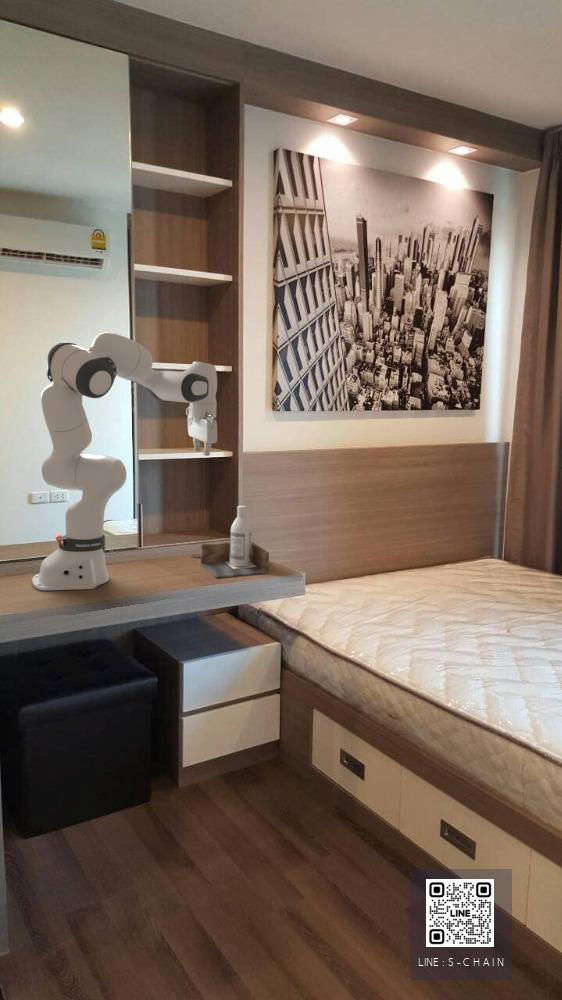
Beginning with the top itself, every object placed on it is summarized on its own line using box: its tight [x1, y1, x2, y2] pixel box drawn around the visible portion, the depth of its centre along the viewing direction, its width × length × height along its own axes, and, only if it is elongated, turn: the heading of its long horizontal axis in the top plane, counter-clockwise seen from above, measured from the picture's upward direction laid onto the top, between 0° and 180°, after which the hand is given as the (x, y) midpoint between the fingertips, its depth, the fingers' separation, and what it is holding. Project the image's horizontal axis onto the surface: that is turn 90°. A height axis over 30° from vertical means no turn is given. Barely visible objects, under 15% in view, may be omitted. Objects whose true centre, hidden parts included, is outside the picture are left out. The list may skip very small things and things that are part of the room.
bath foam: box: [229, 504, 252, 567], centre depth 240 cm, size 7×7×20 cm
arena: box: [199, 540, 270, 579], centre depth 238 cm, size 18×16×7 cm
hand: (202, 453), depth 239 cm, fingers open, 8 cm apart
